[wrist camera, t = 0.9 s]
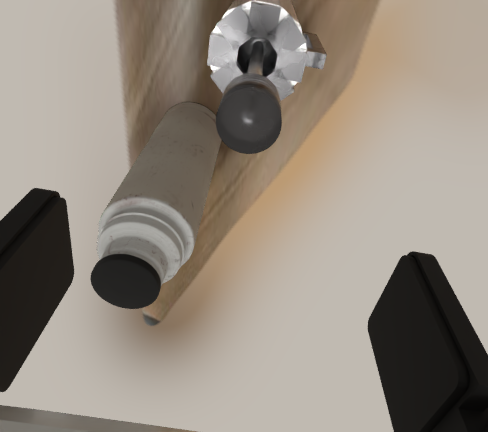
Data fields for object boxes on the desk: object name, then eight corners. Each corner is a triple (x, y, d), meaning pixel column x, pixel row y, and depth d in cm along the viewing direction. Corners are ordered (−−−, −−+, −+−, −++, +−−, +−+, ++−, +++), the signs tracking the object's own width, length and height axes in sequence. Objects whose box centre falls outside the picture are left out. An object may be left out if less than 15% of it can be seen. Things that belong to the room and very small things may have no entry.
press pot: (232, -22, 40) (213, -6, 27) (321, -4, 41) (344, 19, 28) (222, 53, 45) (202, 98, 31) (303, 68, 45) (316, 119, 32)
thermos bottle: (232, 147, 51) (201, 310, 28) (180, 168, 53) (112, 335, 30) (204, 91, 47) (140, 229, 24) (149, 116, 49) (43, 264, 26)
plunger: (236, 11, 32) (206, 66, 17) (290, 21, 32) (306, 85, 18) (228, 68, 35) (197, 157, 20) (278, 77, 35) (284, 172, 20)
